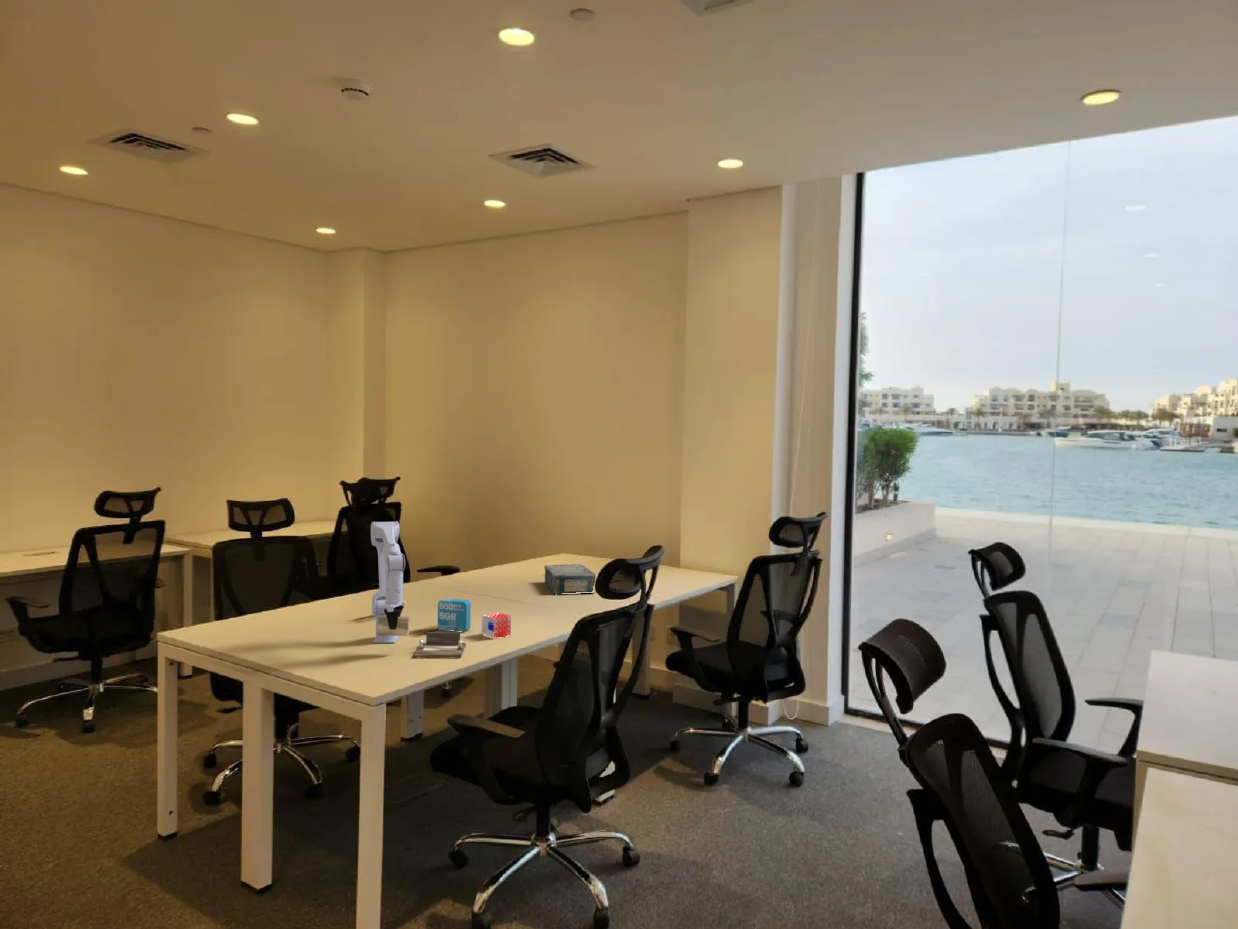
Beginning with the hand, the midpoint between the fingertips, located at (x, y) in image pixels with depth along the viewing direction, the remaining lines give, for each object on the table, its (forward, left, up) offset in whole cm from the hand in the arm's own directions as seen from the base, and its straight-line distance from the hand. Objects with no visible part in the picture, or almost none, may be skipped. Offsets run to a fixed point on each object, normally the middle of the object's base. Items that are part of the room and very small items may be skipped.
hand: (393, 628), depth 284 cm
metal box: (-120, +64, -10) cm, 136 cm away
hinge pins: (-2, +16, -9) cm, 18 cm away
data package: (-33, +17, -9) cm, 38 cm away
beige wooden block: (0, 0, -2) cm, 2 cm away
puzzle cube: (-25, +34, -9) cm, 43 cm away
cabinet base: (-2, +16, -9) cm, 18 cm away
